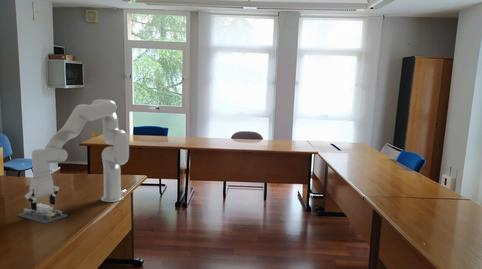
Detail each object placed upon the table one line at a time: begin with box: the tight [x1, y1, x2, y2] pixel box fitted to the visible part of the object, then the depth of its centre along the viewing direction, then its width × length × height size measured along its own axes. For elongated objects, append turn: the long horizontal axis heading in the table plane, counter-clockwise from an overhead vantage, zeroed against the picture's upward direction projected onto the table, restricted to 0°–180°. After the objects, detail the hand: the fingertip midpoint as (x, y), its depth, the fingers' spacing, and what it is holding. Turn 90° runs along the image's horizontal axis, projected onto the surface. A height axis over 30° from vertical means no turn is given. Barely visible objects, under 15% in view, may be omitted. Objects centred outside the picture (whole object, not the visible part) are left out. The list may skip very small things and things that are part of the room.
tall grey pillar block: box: [34, 202, 54, 217], centre depth 174 cm, size 4×10×5 cm, turn 64°
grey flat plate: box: [17, 212, 68, 224], centre depth 174 cm, size 12×21×1 cm, turn 64°
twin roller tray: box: [23, 207, 63, 220], centre depth 174 cm, size 7×20×2 cm, turn 64°
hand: (43, 206), depth 174 cm, fingers open, 9 cm apart
